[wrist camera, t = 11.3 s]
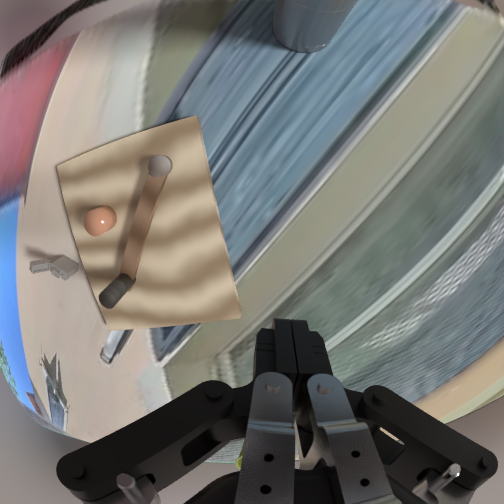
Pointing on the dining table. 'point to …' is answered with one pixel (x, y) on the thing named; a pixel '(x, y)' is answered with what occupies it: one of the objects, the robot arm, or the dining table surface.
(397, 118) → the dining table surface
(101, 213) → the peach rounded cube
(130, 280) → the lever
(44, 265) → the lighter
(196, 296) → the board
